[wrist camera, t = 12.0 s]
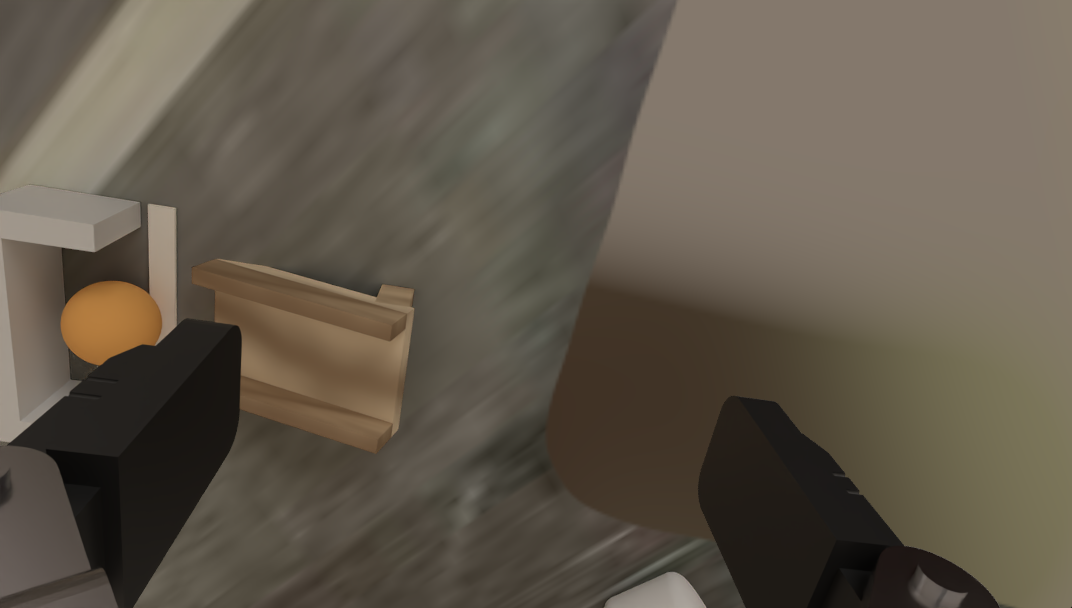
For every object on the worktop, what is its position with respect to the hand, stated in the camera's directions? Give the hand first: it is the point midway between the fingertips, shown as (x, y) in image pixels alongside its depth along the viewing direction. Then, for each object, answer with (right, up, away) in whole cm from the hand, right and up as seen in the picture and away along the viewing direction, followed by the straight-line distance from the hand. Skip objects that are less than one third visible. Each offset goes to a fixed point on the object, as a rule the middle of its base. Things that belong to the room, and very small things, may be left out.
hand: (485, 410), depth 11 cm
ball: (-24, +1, +28) cm, 37 cm away
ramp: (-13, 0, +32) cm, 34 cm away
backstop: (-26, +2, +30) cm, 40 cm away
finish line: (-22, +1, +30) cm, 38 cm away
